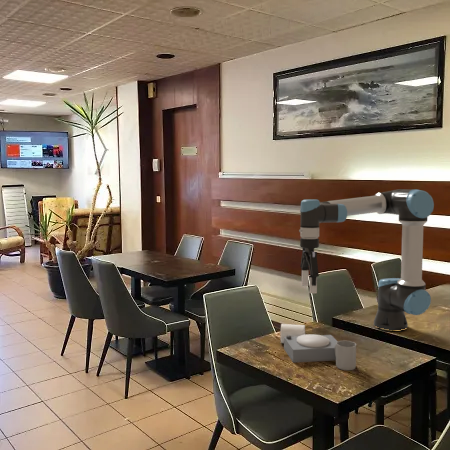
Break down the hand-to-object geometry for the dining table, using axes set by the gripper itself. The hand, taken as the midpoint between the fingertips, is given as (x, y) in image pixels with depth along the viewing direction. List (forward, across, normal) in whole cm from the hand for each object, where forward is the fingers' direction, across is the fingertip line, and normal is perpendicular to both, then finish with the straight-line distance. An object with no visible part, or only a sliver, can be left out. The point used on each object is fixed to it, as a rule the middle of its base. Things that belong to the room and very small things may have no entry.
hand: (308, 289), depth 199 cm
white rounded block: (+25, -9, -4) cm, 27 cm away
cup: (+25, +19, +9) cm, 33 cm away
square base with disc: (+25, +6, 0) cm, 26 cm away
